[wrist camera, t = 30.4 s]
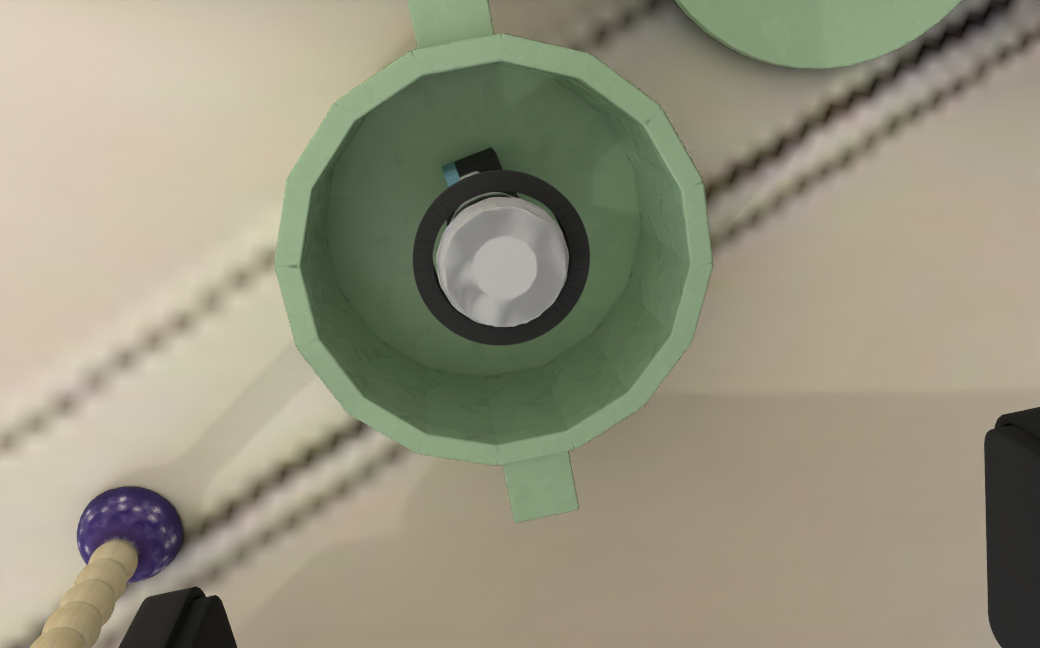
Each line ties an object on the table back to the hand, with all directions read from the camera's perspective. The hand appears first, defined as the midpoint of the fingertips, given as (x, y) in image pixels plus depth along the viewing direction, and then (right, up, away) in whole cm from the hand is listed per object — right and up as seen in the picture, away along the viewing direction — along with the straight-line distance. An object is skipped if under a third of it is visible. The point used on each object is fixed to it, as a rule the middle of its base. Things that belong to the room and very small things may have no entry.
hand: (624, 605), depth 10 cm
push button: (-2, +7, +25) cm, 26 cm away
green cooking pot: (-3, +7, +25) cm, 26 cm away
